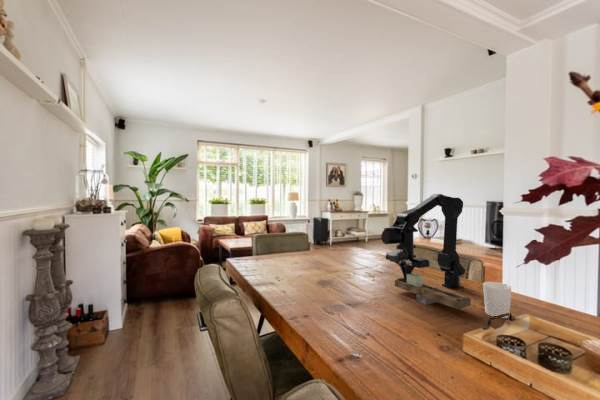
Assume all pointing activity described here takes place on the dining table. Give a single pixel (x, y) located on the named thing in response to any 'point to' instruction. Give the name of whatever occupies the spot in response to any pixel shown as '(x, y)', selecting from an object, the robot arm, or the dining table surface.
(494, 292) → the white cup
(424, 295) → the beam
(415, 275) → the pale green cube
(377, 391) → the dining table surface
